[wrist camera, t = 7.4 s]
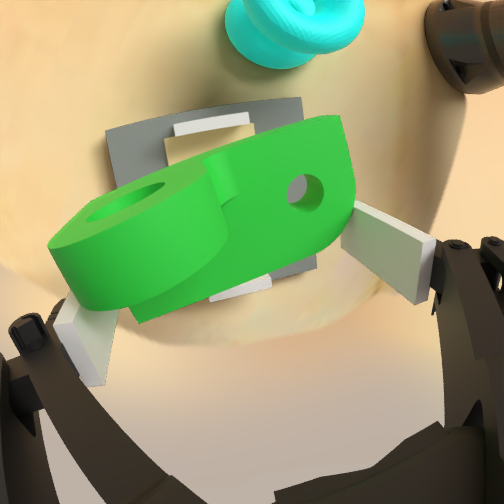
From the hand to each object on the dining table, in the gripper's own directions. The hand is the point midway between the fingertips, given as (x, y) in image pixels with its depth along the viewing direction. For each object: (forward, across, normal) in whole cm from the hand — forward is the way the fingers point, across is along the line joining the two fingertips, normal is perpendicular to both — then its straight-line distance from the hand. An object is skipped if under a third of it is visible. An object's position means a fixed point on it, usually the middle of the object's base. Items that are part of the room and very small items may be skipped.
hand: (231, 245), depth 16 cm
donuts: (+16, -9, -16) cm, 24 cm away
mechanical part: (+1, 0, -2) cm, 2 cm away
